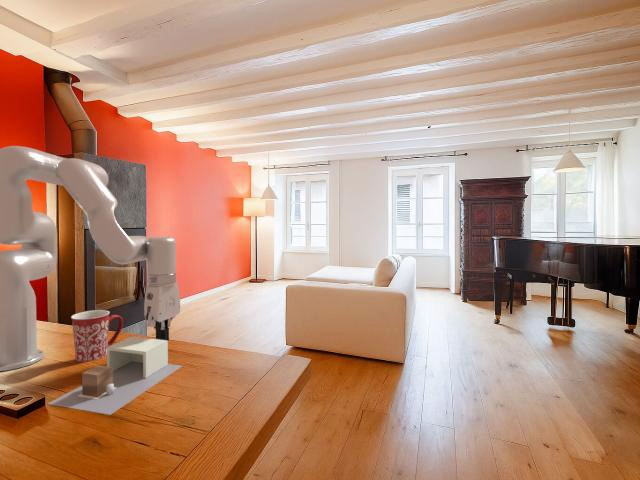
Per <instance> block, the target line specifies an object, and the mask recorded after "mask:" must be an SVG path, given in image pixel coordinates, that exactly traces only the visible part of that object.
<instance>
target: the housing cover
mask: <svg viewBox="0 0 640 480" xmlns="http://www.w3.org/2000/svg"><path fill="white" fill-rule="evenodd" d="M168 346H169V341H168V340H159V339H156V338H150V337H149V338H148V337H139V336H130V337H127V338H125V339H122V340H120V341H118V342H114V343H113V344H112V345H111V346H108V347H107V355H106V366H107V367H113V371H115V370H116V369H118V368H120V367H122V366H124V365H126V364H128V363H130V362H132V361H133V362H141V363H143V378H147V377H149V376H150V375H152V374H153V373H155V372H157V371H158V370H160V369H161V368H163V367H165V366H166V365H168V364H169V362H168V361H169V352H168V351H169V350H168V348H169V347H168Z"/></svg>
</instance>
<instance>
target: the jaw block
mask: <svg viewBox="0 0 640 480" xmlns="http://www.w3.org/2000/svg"><path fill="white" fill-rule="evenodd" d="M81 378H82V379H81V382H82V384H81V386H82V395H87V396H93V397H99V396H100V395H102V394H104V393H105V392H106V386H107V385H108V384H113V367H107V365H96V366H94V367H92V368H90V369H88V370H85V371H83V372H82V373H81Z"/></svg>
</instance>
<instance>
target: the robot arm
mask: <svg viewBox="0 0 640 480" xmlns="http://www.w3.org/2000/svg"><path fill="white" fill-rule="evenodd" d="M28 180H30V181H36V182H41V183H47V184H53V185H57V186H62V187H64V188H65V190H66V192H68V194H69V195H70V196H71V198H72V199H73V200H74V201H75V202H76V204H77V205H78V206H79V208H80V209H81V210H82V211H83V213H84V214H85V216H86V218H87V222H86V223H87V227H88V231H89V233H90V236H91V238H92V240H93V241H94V242H95V244H96V245H97V247H98V248H99V249H100V250H101V251H102V252H103V254H104V255H105V256H106V257H107V258H108V259H109V260H110V261H112V262H113V263H115V264H117V265H128V264H129V265H130V264H132V263H137V262H141V261H146V273H147V274H146V276H147V277H146V283H147V284H146V285H147V286H146V289H145V295H144V303H143V305H144V307H143V310H144V311H143V314H144V319H145V321H146V327H153V329H154V330H155V339H159V340H168V342H169V341H170V327H171V325H172V324H171V322H172V321H173V319H175V318H176V316H177V315H179V314H180V312H181V297H180V296H181V295H180V288H179V285H178V282H177V241H176V239H175V238H174V237H170V236H153V237H151V236H145V235H127V233H126V232H125V231H124V230H123V228H122V227H121V226H120V225H119V223H118V221H117V219H116V216H115V210H116V209H117V206H118V205H119V204H118V200H117V199H116V197H115V196H114V194H113V193H112V192H111V191H110V190H109V188H108V187H107V186H108V184H109V175H108V173H107V171H106V170H105V169H104V168H103V167H102V166H101V165H98V164H96V163H94V162H90V161H87V160H84V159H80V158H77V157H76V158H74V157H72V158H71V157H70V158H67V157H63V156H59V155H54V154H53V153H52V154H51V153H48V152H45V151H43V150H42V151H41V150H39V149H35V148H32V147H27V146H22V145H21V146H20V145H9V146H4V147H2V148H0V244H1V245H7V246H11V245H12V246H14V245H21V248H15V249H7V250H2V251H1V250H0V372H4V371H10V370H16V369H20V368H23V367H26V366H29V365H32V364H35V363H37V362H39V361H41V360H42V359H43V358H44V357H45V351H44V350H41V349H38V337H37V336H38V335H37V334H38V333H37V330H38V329H37V296H36V294H35V291H34V289H33V287H32V285H31V283H30V281H36V280H40V279H43V278H47V277H48V276H50V275H51V274H52V273H53V272H54V271H55V269H56V267H57V262H58V261H57V260H58V253H57V252H58V246H57V245H58V234H57V233H58V232H57V226H56V224H55V222H54V220H53V219H52V218H51V217H50V216H49V215H47V214H45V213H44V212H38V211H34V210H33V195H32V192H31V190H30V187H29V186H28V185H27V181H28Z"/></svg>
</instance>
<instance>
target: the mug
mask: <svg viewBox="0 0 640 480" xmlns="http://www.w3.org/2000/svg"><path fill="white" fill-rule="evenodd" d="M70 319H71V323H72V333H73V334H72V335H73V343H74V353H75V360H76V361H77V362H82V363H85V362H93V361H97V360H100V359H102V358H104V357H107V347H108V346H111V345H113V344H115V341H116V340H117V339H118V337H119V335H120V333H121V332H122V330H123V325H124V319H123V317H122V316H120V315H117V314H112V315H110V311H109V310H107V309H106V310H103V309H95V310H86V311H83V312H78V313H75V314H72V315H71V316H70ZM114 319H117V321H118V326H117V329H116V331H115V332H114V334H113V335H112V337H111V339H110V340H109V326H110V324H111V322H112V321H113V320H114Z"/></svg>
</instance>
